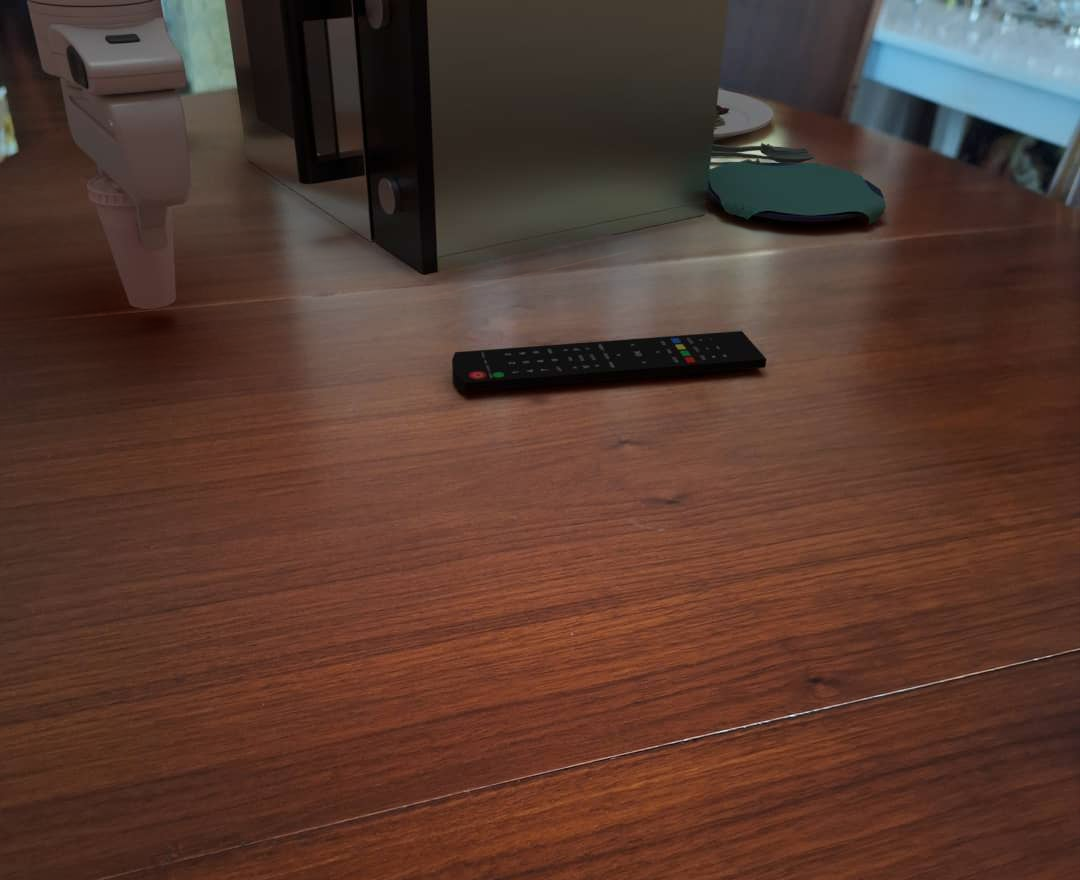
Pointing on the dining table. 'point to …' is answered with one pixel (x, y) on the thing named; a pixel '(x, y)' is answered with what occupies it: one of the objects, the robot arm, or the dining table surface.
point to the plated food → (739, 114)
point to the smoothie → (134, 247)
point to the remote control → (603, 360)
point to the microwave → (534, 121)
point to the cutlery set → (789, 187)
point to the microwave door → (305, 100)
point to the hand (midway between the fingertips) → (140, 232)
